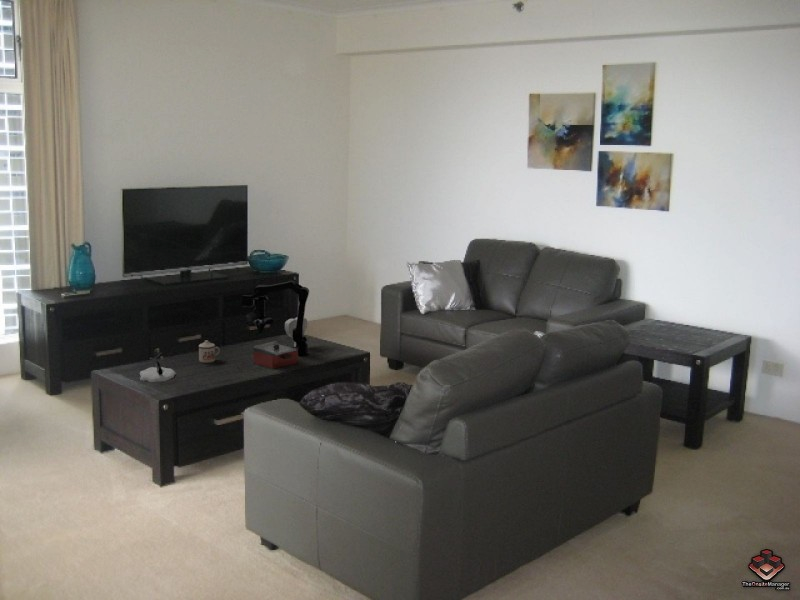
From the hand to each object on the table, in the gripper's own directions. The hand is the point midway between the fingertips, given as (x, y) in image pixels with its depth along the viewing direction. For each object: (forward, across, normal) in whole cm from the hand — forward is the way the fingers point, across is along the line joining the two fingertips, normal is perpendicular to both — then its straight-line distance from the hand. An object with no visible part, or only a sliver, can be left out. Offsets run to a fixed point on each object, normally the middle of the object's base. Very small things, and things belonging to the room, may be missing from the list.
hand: (260, 333), depth 505 cm
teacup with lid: (+12, -8, -30) cm, 33 cm away
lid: (+7, +20, -6) cm, 22 cm away
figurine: (+12, -2, -68) cm, 69 cm away
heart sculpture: (+12, +4, +24) cm, 27 cm away
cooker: (+12, +22, -6) cm, 26 cm away
